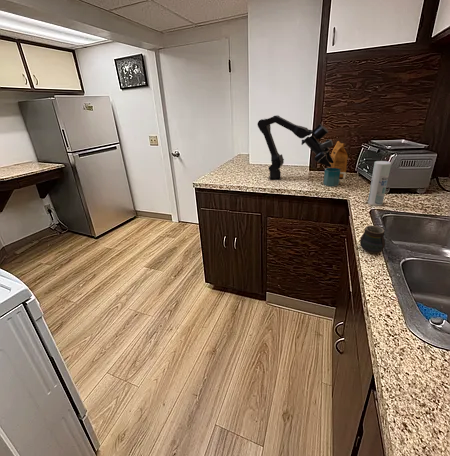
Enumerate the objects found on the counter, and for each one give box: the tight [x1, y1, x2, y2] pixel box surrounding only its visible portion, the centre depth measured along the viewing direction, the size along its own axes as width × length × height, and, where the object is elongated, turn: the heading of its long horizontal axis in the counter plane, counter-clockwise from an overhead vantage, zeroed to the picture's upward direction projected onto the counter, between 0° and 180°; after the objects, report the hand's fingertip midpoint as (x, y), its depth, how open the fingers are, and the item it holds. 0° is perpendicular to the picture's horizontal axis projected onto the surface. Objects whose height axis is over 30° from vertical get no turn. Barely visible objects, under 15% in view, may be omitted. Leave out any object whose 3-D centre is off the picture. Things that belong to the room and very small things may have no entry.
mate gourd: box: [359, 224, 386, 254], centre depth 82 cm, size 7×8×10 cm
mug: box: [322, 167, 347, 187], centre depth 146 cm, size 9×8×12 cm
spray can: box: [367, 160, 392, 207], centre depth 115 cm, size 6×6×20 cm
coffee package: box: [328, 140, 349, 179], centre depth 158 cm, size 10×12×22 cm
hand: (332, 164), depth 144 cm, fingers open, 9 cm apart
